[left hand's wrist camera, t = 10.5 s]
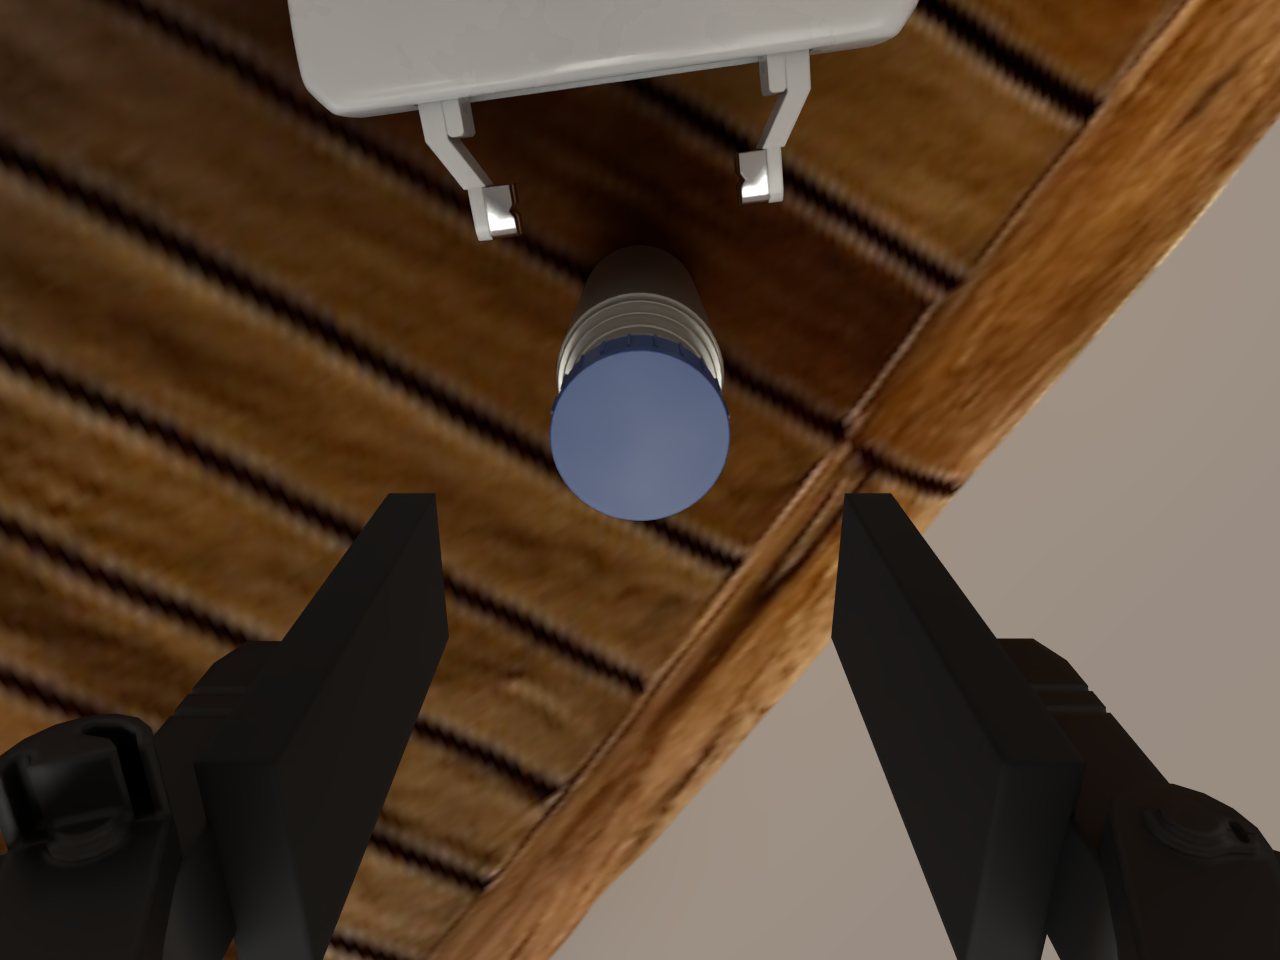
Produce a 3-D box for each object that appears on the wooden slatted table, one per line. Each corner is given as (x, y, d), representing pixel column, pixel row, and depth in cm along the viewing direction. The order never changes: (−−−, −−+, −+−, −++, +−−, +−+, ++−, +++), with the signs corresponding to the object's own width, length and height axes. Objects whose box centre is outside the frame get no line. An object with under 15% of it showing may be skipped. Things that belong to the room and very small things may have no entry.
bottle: (592, 235, 38) (550, 311, 20) (707, 256, 38) (766, 350, 20) (575, 349, 39) (522, 511, 22) (685, 368, 40) (720, 543, 22)
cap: (567, 317, 21) (561, 331, 20) (742, 348, 22) (750, 365, 20) (543, 481, 23) (536, 507, 21) (706, 508, 23) (711, 535, 22)
